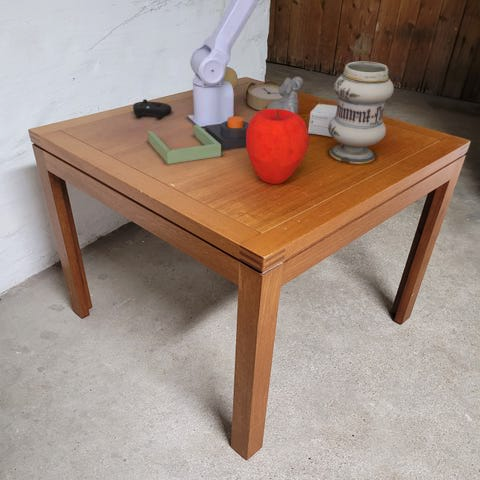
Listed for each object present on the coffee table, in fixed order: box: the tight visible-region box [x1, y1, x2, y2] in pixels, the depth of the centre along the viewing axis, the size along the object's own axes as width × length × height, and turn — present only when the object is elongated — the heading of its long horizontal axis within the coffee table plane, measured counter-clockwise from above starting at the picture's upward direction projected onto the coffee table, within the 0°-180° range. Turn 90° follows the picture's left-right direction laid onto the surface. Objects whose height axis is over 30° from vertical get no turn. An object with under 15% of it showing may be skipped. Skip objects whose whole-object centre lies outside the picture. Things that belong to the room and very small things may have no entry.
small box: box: [307, 103, 337, 138], centre depth 121 cm, size 8×8×5 cm
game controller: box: [132, 98, 172, 120], centre depth 128 cm, size 10×5×6 cm
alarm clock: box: [242, 80, 283, 111], centre depth 138 cm, size 11×5×15 cm
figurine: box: [267, 76, 304, 116], centre depth 123 cm, size 8×10×11 cm
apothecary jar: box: [328, 60, 394, 165], centre depth 106 cm, size 12×12×18 cm
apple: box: [245, 109, 310, 185], centre depth 96 cm, size 12×12×13 cm
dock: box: [147, 124, 222, 165], centre depth 111 cm, size 12×14×2 cm
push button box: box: [204, 121, 250, 151], centre depth 115 cm, size 10×9×4 cm
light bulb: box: [223, 66, 239, 92], centre depth 132 cm, size 6×6×10 cm
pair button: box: [227, 115, 245, 128], centre depth 113 cm, size 4×4×2 cm
